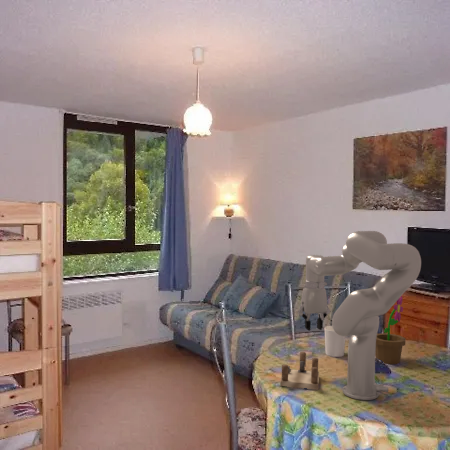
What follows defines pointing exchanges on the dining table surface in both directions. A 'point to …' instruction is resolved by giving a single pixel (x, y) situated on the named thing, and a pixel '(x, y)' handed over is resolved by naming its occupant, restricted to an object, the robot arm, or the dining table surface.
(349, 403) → the dining table surface
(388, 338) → the flowerpot
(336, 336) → the white paper cup
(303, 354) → the hinged leg
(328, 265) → the robot arm
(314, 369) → the stool
